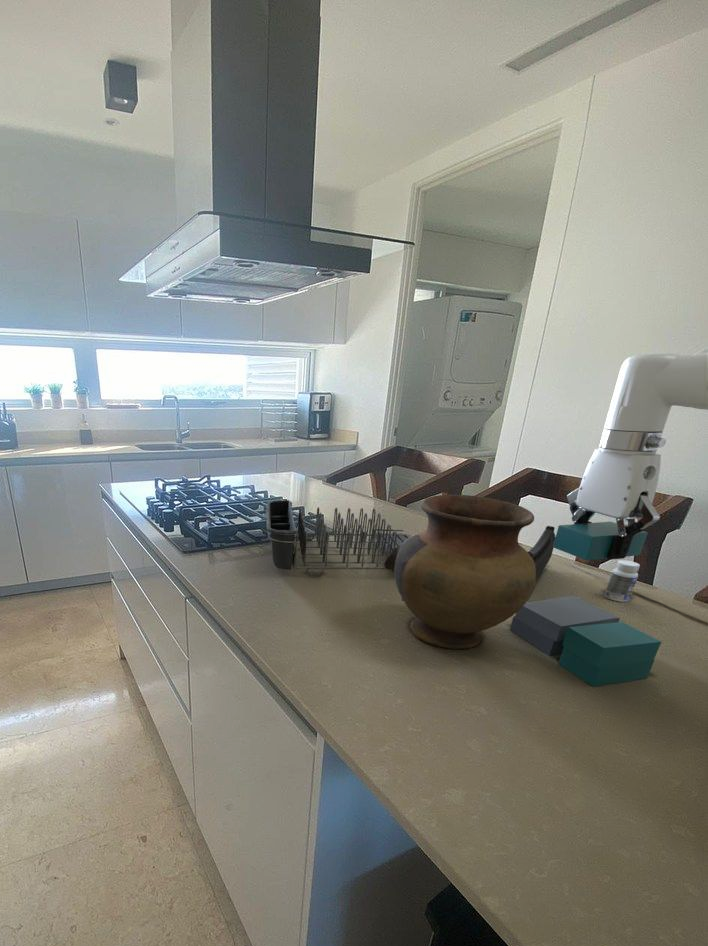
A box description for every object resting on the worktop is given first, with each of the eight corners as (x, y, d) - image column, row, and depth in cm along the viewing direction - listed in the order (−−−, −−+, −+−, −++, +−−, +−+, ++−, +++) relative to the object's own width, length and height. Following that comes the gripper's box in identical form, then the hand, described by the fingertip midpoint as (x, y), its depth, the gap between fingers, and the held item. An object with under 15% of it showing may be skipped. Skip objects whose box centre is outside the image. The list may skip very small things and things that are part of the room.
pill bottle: (629, 604, 107) (642, 568, 103) (604, 599, 109) (616, 563, 105) (628, 597, 110) (641, 562, 107) (603, 592, 112) (615, 557, 109)
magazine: (529, 566, 101) (565, 501, 118) (513, 562, 103) (550, 499, 119) (516, 627, 111) (550, 560, 128) (501, 623, 113) (537, 557, 130)
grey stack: (568, 622, 98) (577, 595, 95) (614, 648, 89) (625, 618, 86) (508, 629, 94) (515, 601, 92) (549, 656, 85) (558, 626, 83)
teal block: (603, 543, 87) (610, 521, 86) (640, 555, 81) (648, 532, 80) (552, 547, 85) (558, 525, 83) (586, 560, 79) (593, 536, 77)
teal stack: (608, 655, 86) (621, 620, 83) (647, 678, 80) (663, 641, 77) (555, 663, 83) (566, 627, 81) (591, 687, 77) (605, 649, 74)
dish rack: (265, 536, 146) (266, 497, 141) (412, 540, 146) (419, 500, 141) (265, 579, 115) (266, 530, 110) (451, 584, 115) (461, 535, 110)
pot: (366, 650, 86) (384, 512, 76) (385, 599, 106) (401, 485, 96) (522, 682, 78) (566, 533, 68) (511, 620, 98) (543, 498, 88)
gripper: (705, 448, 69) (662, 566, 76) (600, 436, 84) (572, 535, 92) (664, 450, 67) (623, 570, 75) (564, 437, 83) (538, 537, 90)
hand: (595, 550), depth 83 cm, fingers closed on teal block, 7 cm apart
